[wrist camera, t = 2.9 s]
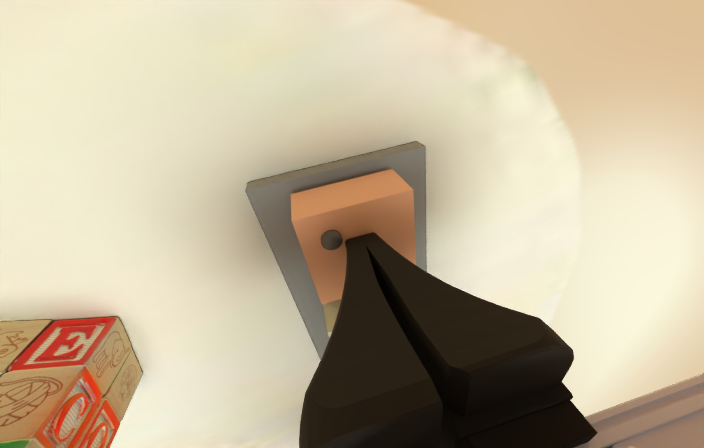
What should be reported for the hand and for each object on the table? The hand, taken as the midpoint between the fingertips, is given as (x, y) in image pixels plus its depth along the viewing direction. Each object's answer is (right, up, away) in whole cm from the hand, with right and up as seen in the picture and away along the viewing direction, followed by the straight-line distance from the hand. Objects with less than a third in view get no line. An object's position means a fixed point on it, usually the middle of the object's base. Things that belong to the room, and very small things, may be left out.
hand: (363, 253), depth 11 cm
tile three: (-1, +1, +2) cm, 3 cm away
